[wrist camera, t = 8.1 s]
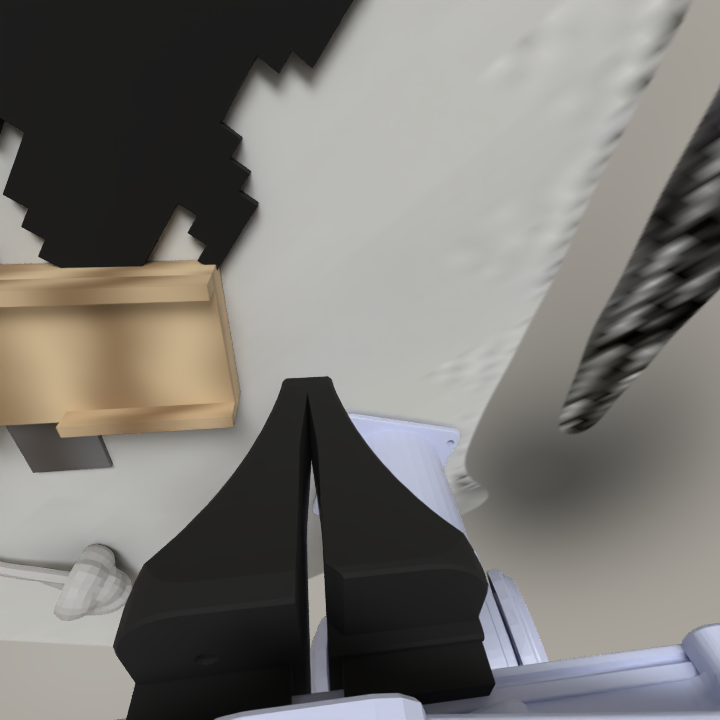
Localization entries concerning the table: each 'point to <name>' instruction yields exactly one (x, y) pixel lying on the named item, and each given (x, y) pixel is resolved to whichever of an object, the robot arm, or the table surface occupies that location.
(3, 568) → the mushroom
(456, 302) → the table surface
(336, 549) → the robot arm
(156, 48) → the black pixelated cutout
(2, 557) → the table surface
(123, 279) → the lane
